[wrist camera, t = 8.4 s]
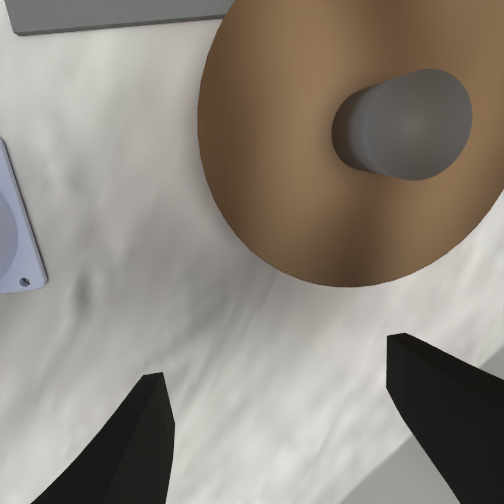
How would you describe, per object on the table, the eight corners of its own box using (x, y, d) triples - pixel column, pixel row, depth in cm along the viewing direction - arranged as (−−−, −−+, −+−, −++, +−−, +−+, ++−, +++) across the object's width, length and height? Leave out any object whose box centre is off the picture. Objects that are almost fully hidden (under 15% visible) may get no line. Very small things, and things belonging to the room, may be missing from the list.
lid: (228, 301, 16) (233, 360, 12) (164, -42, 12) (136, -146, 7) (496, 252, 16) (595, 292, 12) (527, -87, 12) (692, -207, 8)
